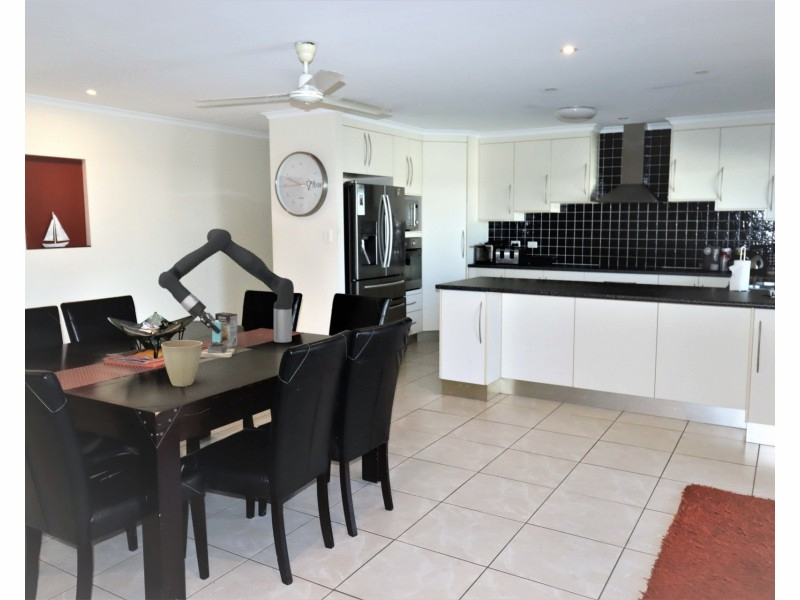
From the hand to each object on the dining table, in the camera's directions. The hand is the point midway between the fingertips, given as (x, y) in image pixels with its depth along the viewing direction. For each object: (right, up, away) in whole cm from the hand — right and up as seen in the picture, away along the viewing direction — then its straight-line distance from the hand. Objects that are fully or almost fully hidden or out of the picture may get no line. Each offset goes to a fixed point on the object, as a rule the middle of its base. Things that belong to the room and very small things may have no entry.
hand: (220, 331), depth 290 cm
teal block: (-2, -5, 0) cm, 5 cm away
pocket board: (-2, -11, +1) cm, 11 cm away
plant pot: (+1, -18, -51) cm, 54 cm away
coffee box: (-3, -8, +21) cm, 23 cm away
